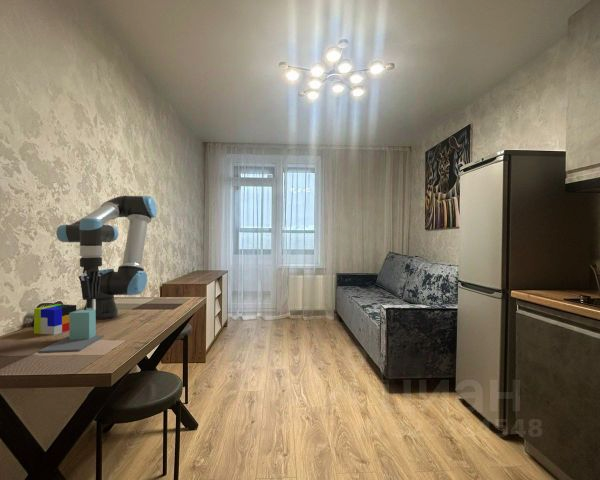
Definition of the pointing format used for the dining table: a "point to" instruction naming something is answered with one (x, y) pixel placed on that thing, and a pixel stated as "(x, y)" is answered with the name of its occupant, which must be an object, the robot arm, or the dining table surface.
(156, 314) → the dining table surface
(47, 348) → the rubber mat
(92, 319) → the teal block
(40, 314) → the puzzle toy
